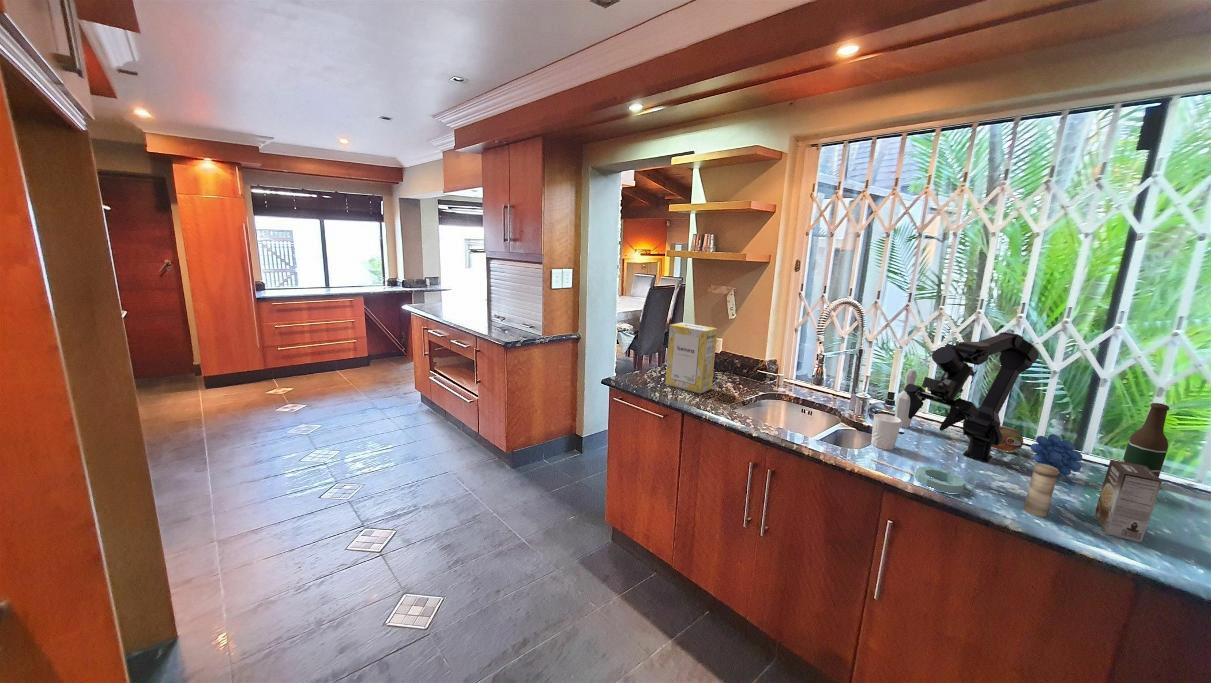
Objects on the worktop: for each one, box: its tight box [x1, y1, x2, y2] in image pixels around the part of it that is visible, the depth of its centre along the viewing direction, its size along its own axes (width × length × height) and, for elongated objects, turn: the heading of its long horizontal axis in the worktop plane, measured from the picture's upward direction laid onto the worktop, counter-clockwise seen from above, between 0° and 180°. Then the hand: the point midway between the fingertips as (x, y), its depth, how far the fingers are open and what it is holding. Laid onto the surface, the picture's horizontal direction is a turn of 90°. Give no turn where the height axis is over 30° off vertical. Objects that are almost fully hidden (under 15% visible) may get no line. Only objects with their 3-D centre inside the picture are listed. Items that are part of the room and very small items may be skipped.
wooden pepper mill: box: [1023, 462, 1059, 518], centre depth 117 cm, size 4×4×12 cm
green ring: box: [914, 466, 966, 494], centre depth 130 cm, size 11×11×2 cm
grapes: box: [1030, 434, 1083, 477], centre depth 139 cm, size 12×7×12 cm, turn 44°
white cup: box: [870, 413, 901, 451], centre depth 154 cm, size 8×8×10 cm
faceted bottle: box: [894, 368, 918, 429], centre depth 172 cm, size 6×6×22 cm
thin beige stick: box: [871, 457, 916, 476], centre depth 139 cm, size 1×12×1 cm, turn 39°
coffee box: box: [1093, 459, 1163, 543], centre depth 110 cm, size 9×6×16 cm
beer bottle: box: [1122, 402, 1170, 479], centre depth 136 cm, size 8×8×24 cm
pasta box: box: [665, 322, 718, 395], centre depth 208 cm, size 18×10×28 cm, turn 50°
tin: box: [966, 424, 1024, 454], centre depth 157 cm, size 15×3×8 cm, turn 41°
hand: (924, 424), depth 136 cm, fingers open, 9 cm apart
